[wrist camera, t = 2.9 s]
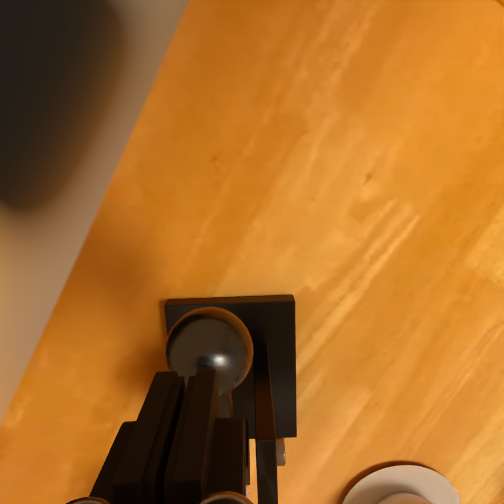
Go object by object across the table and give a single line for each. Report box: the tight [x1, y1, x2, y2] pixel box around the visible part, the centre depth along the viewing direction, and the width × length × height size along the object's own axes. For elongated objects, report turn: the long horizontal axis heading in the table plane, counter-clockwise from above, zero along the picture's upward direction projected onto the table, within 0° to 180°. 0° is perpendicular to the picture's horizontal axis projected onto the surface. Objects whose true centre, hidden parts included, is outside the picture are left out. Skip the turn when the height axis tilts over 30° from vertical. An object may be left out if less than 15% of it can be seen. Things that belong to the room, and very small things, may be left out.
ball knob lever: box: [164, 307, 253, 485], centre depth 18 cm, size 13×3×3 cm
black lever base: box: [165, 295, 297, 504], centre depth 25 cm, size 11×9×11 cm
